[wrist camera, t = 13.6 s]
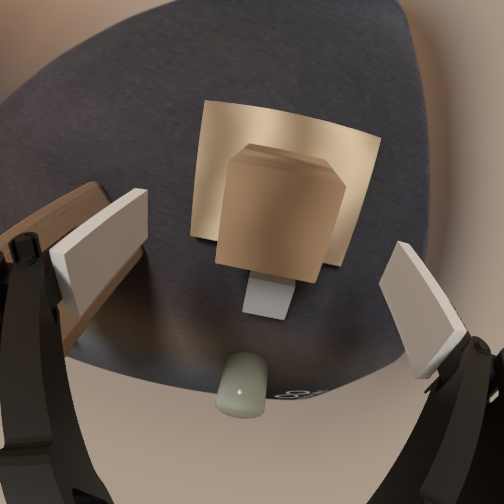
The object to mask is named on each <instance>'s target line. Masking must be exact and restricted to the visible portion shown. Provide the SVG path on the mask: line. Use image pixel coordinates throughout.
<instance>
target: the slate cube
mask: <svg viewBox="0 0 504 504" xmlns="http://www.w3.org/2000/svg"><path fill="white" fill-rule="evenodd" d="M294 289H295V279H291V278H286V277H281V276H276V275H271V274H266V273H261V272H256V271H252V270H251V271H250V276H249V281H248V285H247V290H246V295H245V300H244V305H243V310H242V312H246V313H251V314H256V315H261V316H266V317H271V318H276V319H281V320H284V319H285V316H286V313H287V310H288V307H289V305H290V302H291V299H292V296H293V292H294Z"/></svg>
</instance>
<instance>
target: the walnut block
mask: <svg viewBox="0 0 504 504" xmlns="http://www.w3.org/2000/svg"><path fill="white" fill-rule="evenodd" d="M345 190H346V185H345V184H344V183H343V181H342V180H341V179H340V178H339V176H338V175H337V174H336V172H335V171H334V170H333V169H332V167H331V166H330V165H329V164H328V162H327V161H326V160H325V159H321V158H317V157H313V156H309V155H305V154H300V153H296V152H291V151H287V150H282V149H277V148H272V147H267V146H262V145H256V144H251V143H249V144H248V145H247V146H245V147H244V148H243V149H242V150H241V151H240V152H238V153H237V154H236V155H235V156H234V157H233V158H231V159H230V160H229V161H228V167H227V174H226V181H225V188H224V196H223V203H222V210H221V218H220V226H219V234H218V242H217V251H216V259H215V263H218V264H223V265H228V266H232V267H237V268H242V269H247V270H252V271H256V272H261V273H266V274H271V275H276V276H281V277H286V278H291V279H296V280H301V281H306V282H311V283H315V282H316V280H317V277H318V274H319V271H320V268H321V265H322V263H323V260H324V257H325V254H326V251H327V248H328V245H329V242H330V239H331V236H332V233H333V230H334V226H335V223H336V220H337V217H338V214H339V210H340V207H341V204H342V200H343V197H344V194H345Z"/></svg>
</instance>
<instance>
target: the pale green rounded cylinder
mask: <svg viewBox="0 0 504 504" xmlns="http://www.w3.org/2000/svg"><path fill="white" fill-rule="evenodd" d="M268 371H269V365H268V362H267V361H266V360H265V359H264V358H263V357H261V356H259V355H257V354H254V353H249V352H237V353H233V354H231V355H229V356H228V357H227V359H226V361H225V365H224V369H223V373H222V377H221V382H220V386H219V390H218V394H217V398H216V402H215V406H216V408H217V409H218V410H219V411H221V412H222V413H224V414H226V415H229V416H232V417H237V418H255V417H258V416H260V415H262V414H263V412H264V407H265V398H266V389H267V380H268Z"/></svg>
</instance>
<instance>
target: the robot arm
mask: <svg viewBox="0 0 504 504" xmlns="http://www.w3.org/2000/svg"><path fill="white" fill-rule="evenodd" d="M147 238H148V190H144V189H137V188H135V189H133V190H132V191H130V192H128V193H127V194H125V195H124V196H122V197H121V198H119V199H118V200H116V201H115V202H113V203H112V204H110V205H109V206H107V207H106V208H104V209H103V210H101V211H100V212H98V213H97V214H96V215H94V216H93V217H91V218H90V219H89V220H87V221H86V222H84V223H83V224H82V225H79V226H77V227H75V228H73V229H71V230H70V231H69V232H67V233H66V234H65V235H63V236H62V237H61V238H60V239H59V240H57V241H56V242H54V243H53V244H52V245H51V246H49V247H48V248H47V249H46V250H44V251H43V252H42V251H41V246H40V242H39V237H38V234H37V233H35V232H24V233H21V234H19V235H17V236H15V237H13V238H12V239H11V240H10V241H9V243H8V246H9V249H10V253H11V257H12V260H13V263H10V262H6V260H5V257H4V253H3V252H2V251H0V404H1V416H2V425H3V432H4V439H5V445H4V448H2V449H0V483H1V486H2V490H3V493H4V497H5V500H6V503H7V504H114V502H113V500H112V498H111V496H110V495H109V492H108V491H107V489H106V487H105V485H104V484H103V482H102V481H101V479H100V478H99V477H98V475H97V474H96V472H95V470H94V468H93V465H92V463H91V460H90V458H89V455H88V452H87V449H86V446H85V443H84V440H83V437H82V434H81V430H80V427H79V424H78V420H77V417H76V413H75V409H74V405H73V401H72V396H71V392H70V387H69V382H68V377H67V372H66V365H65V359H64V352H63V344H62V335H61V325H60V312H59V309H58V306H57V305H58V304H59V303H60V301H61V300H63V303H64V306H65V309H66V311H68V312H70V313H73V314H75V315H77V316H80V317H81V315H82V314H83V313H84V311H85V310H86V309H87V308H88V306H89V305H90V304H91V302H92V301H93V300H94V299H95V298H96V296H97V295H98V294H99V293H100V291H101V290H102V289H103V288H104V287H105V285H106V284H107V283H108V282H109V281H110V279H111V278H112V277H113V276H114V275H115V274H116V272H117V271H118V270H119V269H120V268H121V267H122V265H123V264H124V263H125V262H126V261H127V260H128V259H129V258H130V256H131V255H132V254H133V253H134V252H135V251H136V250H137V249H138V248H139V246H140V245H141V244H142V243H143V242H144V241H145V240H146V239H147ZM379 285H380V287H381V290H382V292H383V294H384V297H385V299H386V301H387V304H388V306H389V309H390V311H391V313H392V316H393V318H394V321H395V323H396V326H397V329H398V331H399V334H400V337H401V339H402V342H403V345H404V347H405V350H406V353H407V356H408V359H409V362H410V365H411V368H412V371H413V374H414V377H415V379H429V378H430V377H431V375H432V374H433V373H434V372H435V371H436V370H438V373H439V377H438V378H437V379H436V380H435V381H434V382H433V383H432V384H431V385H430V386H429V387H428V388H427V389H426V390H425V392H424V393H427V392H428V391H430V390H431V391H430V394H429V397H428V399H427V401H426V403H425V406H424V408H423V410H422V412H421V414H420V416H419V419H418V421H417V423H416V425H415V427H414V429H413V431H412V433H411V435H410V437H409V439H408V440H407V442H406V444H405V446H404V448H403V450H402V451H401V453H400V455H399V456H398V458H397V460H396V461H395V463H394V465H393V466H392V468H391V470H390V471H389V473H388V474H387V476H386V477H385V479H384V480H383V482H382V483H381V485H380V486H379V488H378V489H377V490H376V492H375V493H374V494H373V496H372V497H371V499H370V500H369V501H368V502H367V504H504V348H503V349H502V350H501V351H500V353H499V354H498V355H497V356H495V355H493V354H491V351H490V348H489V346H488V345H487V344H486V343H485V342H484V341H483V340H482V339H481V338H479V337H476V336H473V337H471V335H470V334H469V332H468V330H467V328H466V326H465V325H464V323H463V321H462V320H461V318H459V315H458V313H457V312H456V310H455V308H454V306H453V305H452V303H451V302H450V301H449V300H448V298H447V297H446V295H445V294H444V292H443V291H442V290H441V288H440V286H439V285H438V283H437V282H436V280H435V279H434V277H433V276H432V275H431V273H430V272H429V270H428V269H427V268H426V266H425V265H424V263H423V262H422V261H421V259H420V258H419V257H418V255H417V254H416V253H415V251H414V250H413V249H412V247H411V246H410V245H409V244H407V243H403V242H400V241H397V244H396V246H395V249H394V251H393V253H392V256H391V258H390V260H389V262H388V265H387V267H386V269H385V271H384V274H383V276H382V278H381V280H380V282H379ZM498 390H499V395H498V397H497V398H496V399H495V400H494V401H492V402H491V403H490V397H492V396H493V395H494V394H495V393H496V392H497V391H498Z"/></svg>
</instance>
